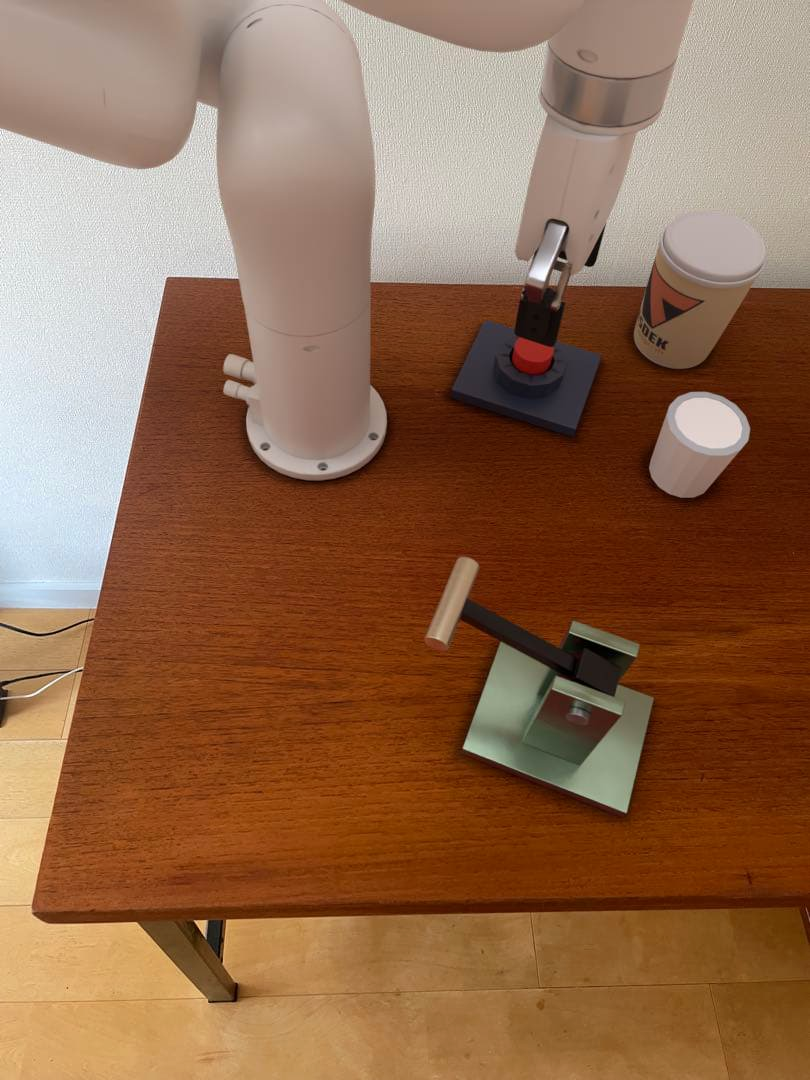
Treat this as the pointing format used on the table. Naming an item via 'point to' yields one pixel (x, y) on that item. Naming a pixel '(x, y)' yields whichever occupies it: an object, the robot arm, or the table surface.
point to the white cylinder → (697, 443)
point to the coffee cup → (696, 286)
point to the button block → (526, 381)
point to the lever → (513, 634)
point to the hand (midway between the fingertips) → (555, 298)
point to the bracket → (563, 723)
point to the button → (531, 357)
